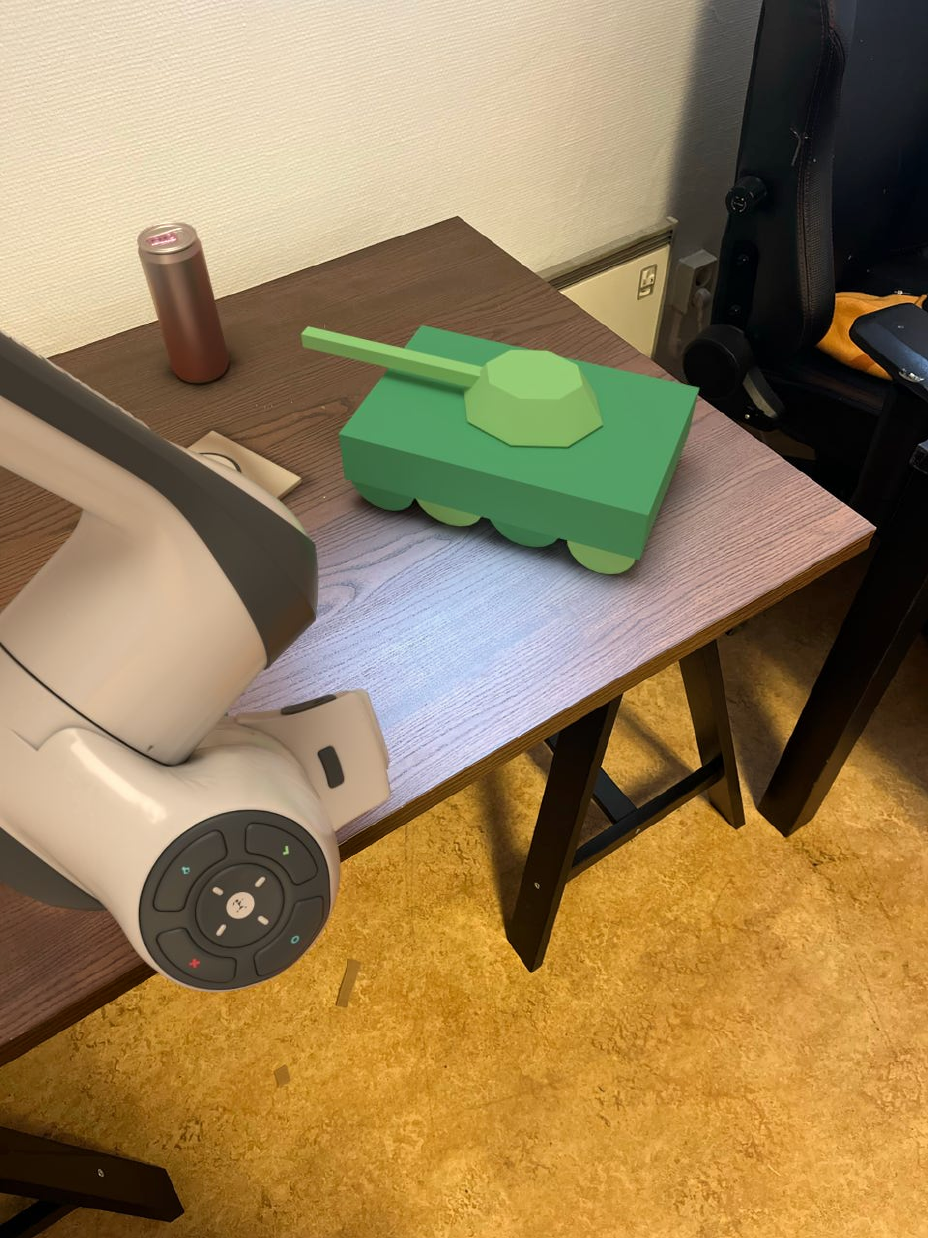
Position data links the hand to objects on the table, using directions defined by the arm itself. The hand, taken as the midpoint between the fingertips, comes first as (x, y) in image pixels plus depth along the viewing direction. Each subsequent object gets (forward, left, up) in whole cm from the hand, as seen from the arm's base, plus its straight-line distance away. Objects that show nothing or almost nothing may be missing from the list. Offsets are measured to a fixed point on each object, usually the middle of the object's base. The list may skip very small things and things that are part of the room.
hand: (214, 755), depth 62 cm
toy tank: (+39, +6, -7) cm, 40 cm away
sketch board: (+20, +25, -7) cm, 33 cm away
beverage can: (+35, +40, -7) cm, 54 cm away
